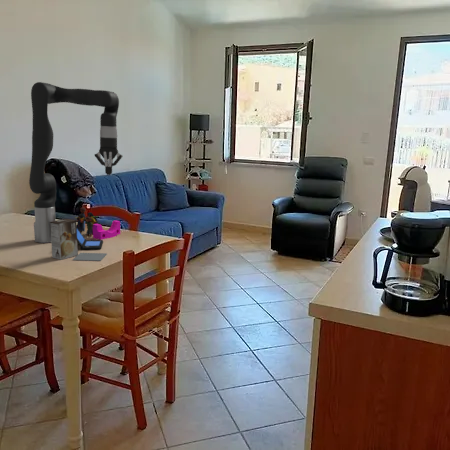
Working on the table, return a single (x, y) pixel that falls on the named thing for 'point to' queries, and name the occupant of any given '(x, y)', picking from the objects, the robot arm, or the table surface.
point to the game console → (88, 242)
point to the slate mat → (90, 256)
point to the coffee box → (64, 238)
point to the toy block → (106, 231)
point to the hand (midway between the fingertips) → (108, 174)
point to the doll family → (88, 220)
